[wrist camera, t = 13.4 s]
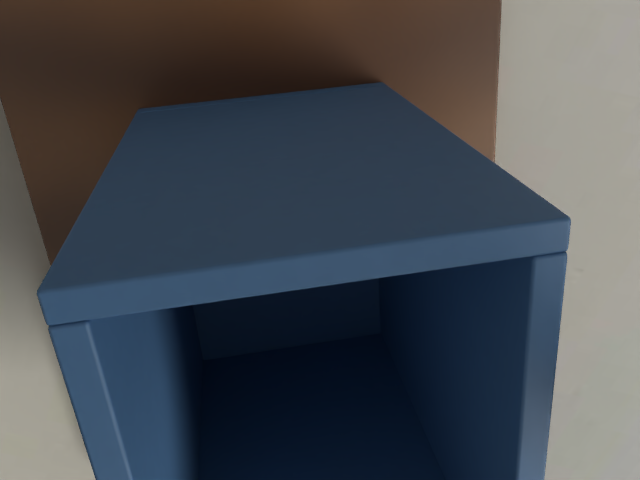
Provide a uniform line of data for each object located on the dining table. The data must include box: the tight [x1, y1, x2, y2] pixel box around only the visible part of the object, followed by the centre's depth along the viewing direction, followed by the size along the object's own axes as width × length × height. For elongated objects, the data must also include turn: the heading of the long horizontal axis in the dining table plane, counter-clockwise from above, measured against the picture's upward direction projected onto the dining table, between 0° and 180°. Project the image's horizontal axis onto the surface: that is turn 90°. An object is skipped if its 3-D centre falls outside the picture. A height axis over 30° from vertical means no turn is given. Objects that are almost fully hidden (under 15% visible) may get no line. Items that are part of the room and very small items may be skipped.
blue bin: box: [37, 82, 571, 480], centre depth 16 cm, size 10×8×12 cm
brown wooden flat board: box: [0, 0, 502, 265], centre depth 22 cm, size 20×16×1 cm
